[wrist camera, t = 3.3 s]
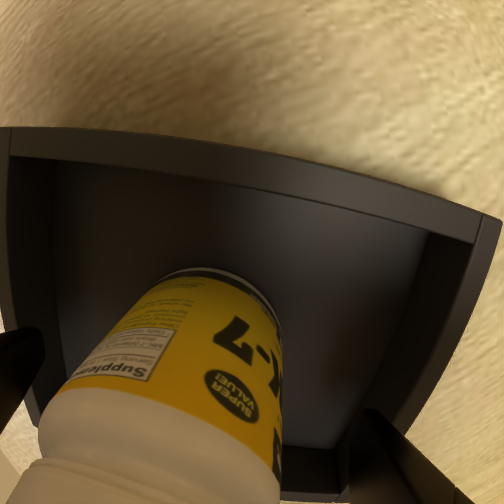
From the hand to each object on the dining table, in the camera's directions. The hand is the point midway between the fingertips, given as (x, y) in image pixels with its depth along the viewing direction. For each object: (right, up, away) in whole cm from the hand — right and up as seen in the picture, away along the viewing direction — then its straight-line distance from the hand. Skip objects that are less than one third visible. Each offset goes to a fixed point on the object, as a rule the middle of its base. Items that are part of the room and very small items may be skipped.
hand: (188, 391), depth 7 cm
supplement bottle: (0, +1, +3) cm, 3 cm away
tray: (0, +1, +3) cm, 4 cm away
